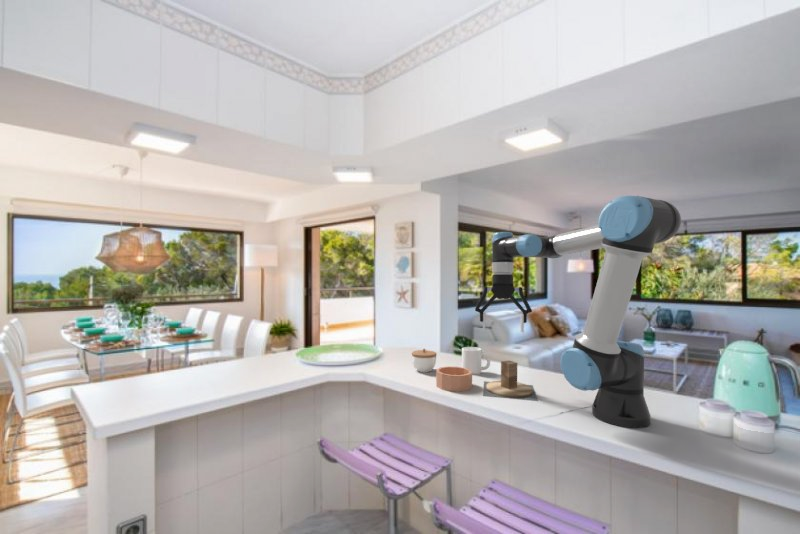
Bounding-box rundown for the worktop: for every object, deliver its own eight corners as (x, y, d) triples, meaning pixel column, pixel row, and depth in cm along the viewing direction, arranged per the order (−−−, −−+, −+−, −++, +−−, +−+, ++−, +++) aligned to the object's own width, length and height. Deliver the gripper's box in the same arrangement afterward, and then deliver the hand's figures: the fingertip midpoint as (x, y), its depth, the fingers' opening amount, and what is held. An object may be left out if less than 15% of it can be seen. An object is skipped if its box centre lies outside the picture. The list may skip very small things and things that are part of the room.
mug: (490, 372, 163) (491, 348, 163) (489, 377, 155) (489, 352, 155) (463, 369, 167) (463, 346, 167) (460, 374, 159) (460, 349, 159)
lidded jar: (406, 370, 164) (406, 348, 165) (423, 366, 172) (423, 345, 172) (424, 375, 156) (424, 352, 157) (441, 370, 164) (441, 349, 164)
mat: (532, 386, 143) (532, 385, 143) (538, 402, 125) (538, 400, 125) (483, 382, 147) (483, 381, 147) (482, 397, 130) (483, 395, 130)
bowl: (478, 389, 138) (478, 373, 138) (449, 394, 132) (449, 377, 132) (457, 380, 150) (457, 365, 150) (429, 384, 144) (430, 368, 144)
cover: (542, 393, 133) (542, 364, 133) (508, 400, 126) (508, 369, 126) (509, 381, 147) (509, 355, 147) (477, 387, 140) (477, 359, 140)
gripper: (536, 274, 141) (536, 330, 141) (468, 274, 146) (468, 328, 146) (539, 273, 134) (540, 333, 133) (468, 273, 139) (468, 331, 138)
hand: (502, 331), depth 139 cm, fingers open, 13 cm apart
